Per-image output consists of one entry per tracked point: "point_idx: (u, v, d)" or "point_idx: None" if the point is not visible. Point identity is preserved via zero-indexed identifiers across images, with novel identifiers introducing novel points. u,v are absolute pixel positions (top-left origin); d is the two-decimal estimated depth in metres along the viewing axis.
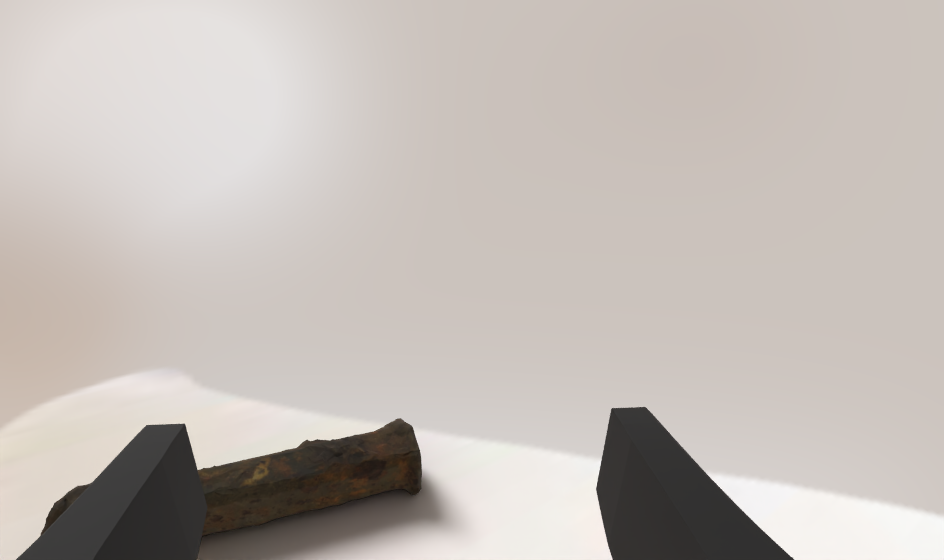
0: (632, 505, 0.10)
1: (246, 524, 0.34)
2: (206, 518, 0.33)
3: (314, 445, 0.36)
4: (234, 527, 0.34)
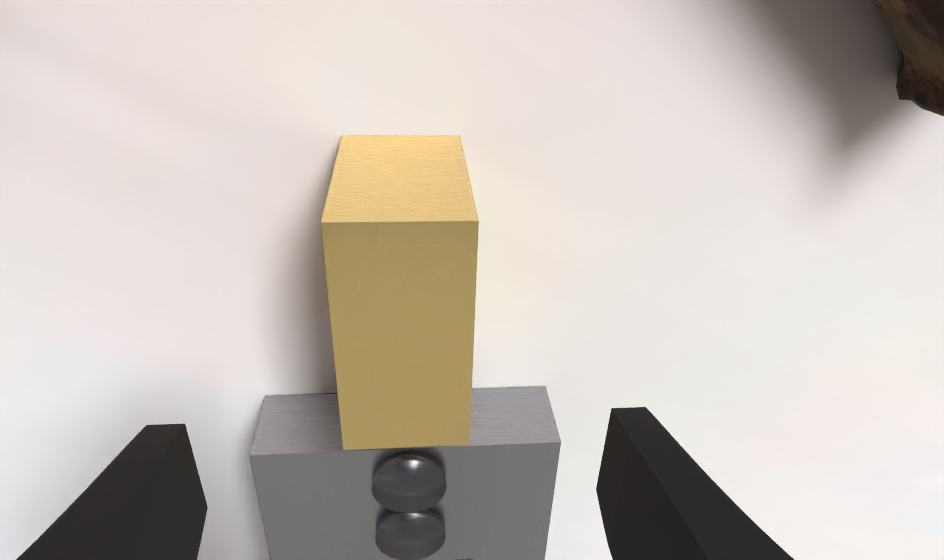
0: (632, 505, 0.10)
1: None
2: None
3: None
4: None
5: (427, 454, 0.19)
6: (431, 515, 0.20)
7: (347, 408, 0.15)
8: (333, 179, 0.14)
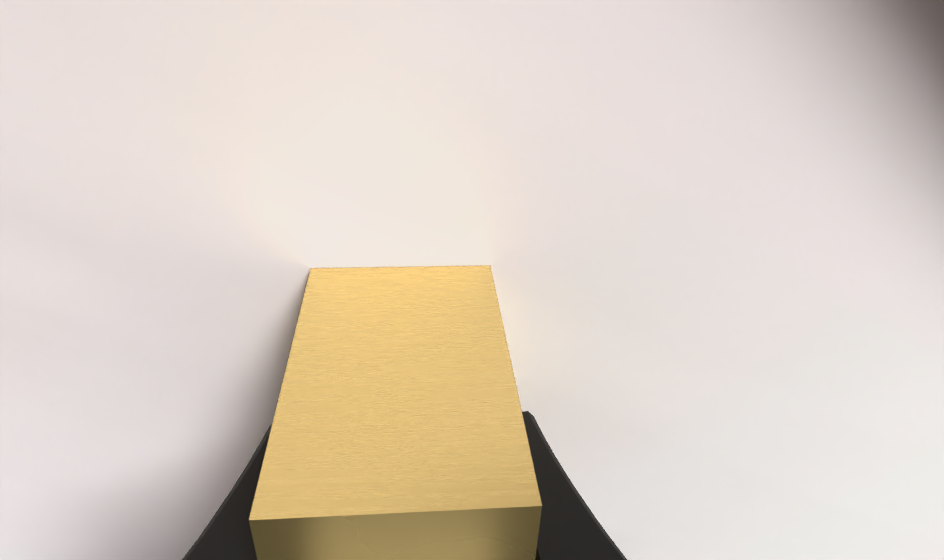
0: None
1: None
2: None
3: None
4: None
5: None
6: None
7: None
8: (286, 385, 0.08)
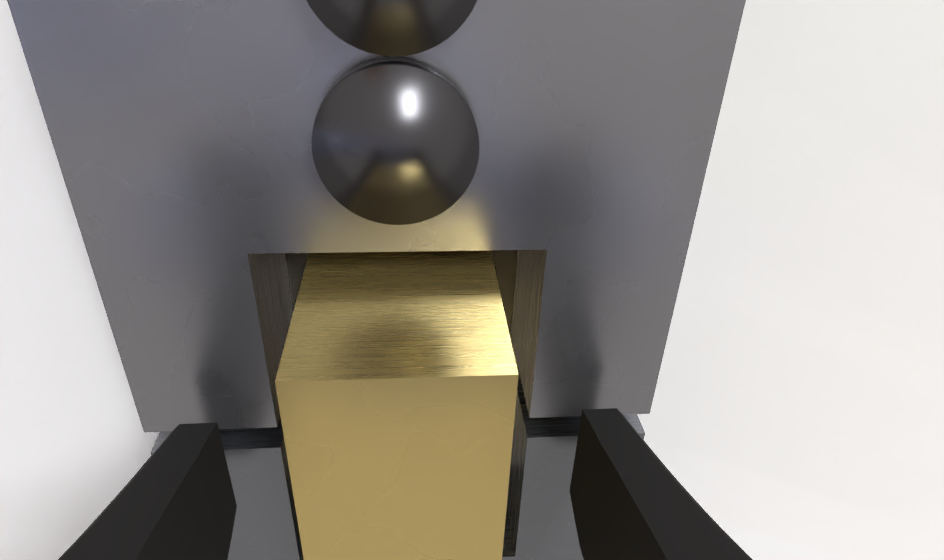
0: (600, 506, 0.10)
1: None
2: None
3: None
4: None
5: None
6: (446, 83, 0.08)
7: None
8: (302, 290, 0.10)
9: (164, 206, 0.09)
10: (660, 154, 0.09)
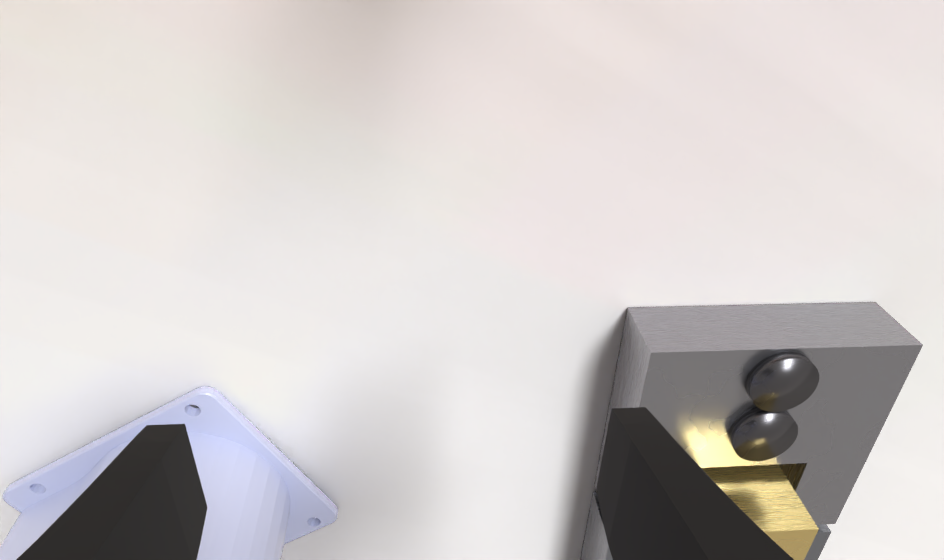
0: (632, 505, 0.10)
1: None
2: None
3: None
4: None
5: (804, 354, 0.21)
6: (789, 416, 0.22)
7: None
8: None
9: None
10: (861, 430, 0.23)
